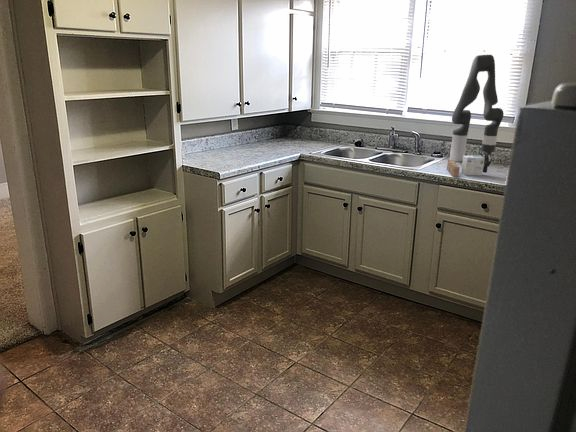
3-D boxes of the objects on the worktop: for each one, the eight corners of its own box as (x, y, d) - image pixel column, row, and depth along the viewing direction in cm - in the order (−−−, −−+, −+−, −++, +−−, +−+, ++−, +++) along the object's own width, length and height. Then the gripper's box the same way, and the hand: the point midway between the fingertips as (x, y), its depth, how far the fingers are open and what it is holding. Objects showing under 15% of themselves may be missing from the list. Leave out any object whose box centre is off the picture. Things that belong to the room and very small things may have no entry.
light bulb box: (477, 173, 288) (480, 155, 284) (482, 175, 282) (485, 157, 278) (460, 172, 287) (462, 155, 284) (464, 175, 281) (467, 157, 278)
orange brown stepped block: (446, 169, 295) (447, 159, 293) (451, 169, 295) (453, 159, 293) (453, 177, 277) (454, 166, 275) (458, 177, 276) (459, 167, 274)
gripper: (479, 141, 284) (475, 169, 290) (485, 144, 272) (480, 174, 277) (492, 141, 284) (488, 170, 289) (499, 145, 271) (494, 175, 277)
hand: (484, 172), depth 283 cm, fingers closed
